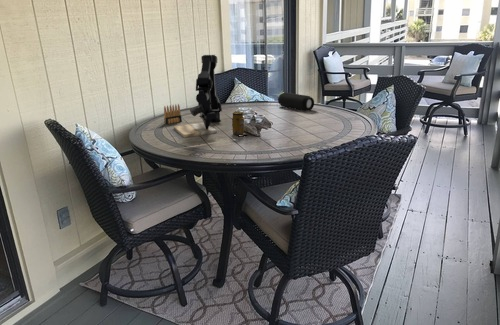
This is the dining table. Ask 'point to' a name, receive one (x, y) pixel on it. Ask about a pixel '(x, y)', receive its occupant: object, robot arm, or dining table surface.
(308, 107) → the portable speaker
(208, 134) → the underlay mat
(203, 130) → the loose plank
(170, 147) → the dining table surface
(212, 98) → the robot arm
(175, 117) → the ammunition clip
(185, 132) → the plank
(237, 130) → the condiment
